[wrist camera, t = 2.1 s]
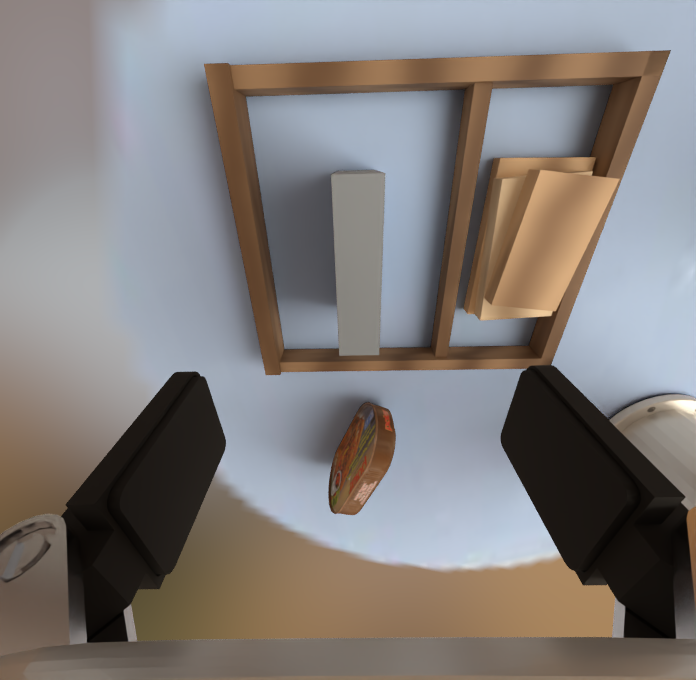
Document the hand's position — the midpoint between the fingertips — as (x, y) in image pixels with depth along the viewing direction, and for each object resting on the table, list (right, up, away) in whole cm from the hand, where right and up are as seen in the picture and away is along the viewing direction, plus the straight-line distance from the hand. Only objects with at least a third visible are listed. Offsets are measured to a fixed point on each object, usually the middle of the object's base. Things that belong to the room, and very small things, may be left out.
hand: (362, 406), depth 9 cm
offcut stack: (+15, +11, +18) cm, 26 cm away
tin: (+1, -10, +31) cm, 32 cm away
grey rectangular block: (0, +11, +18) cm, 21 cm away
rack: (+5, +11, +18) cm, 22 cm away
